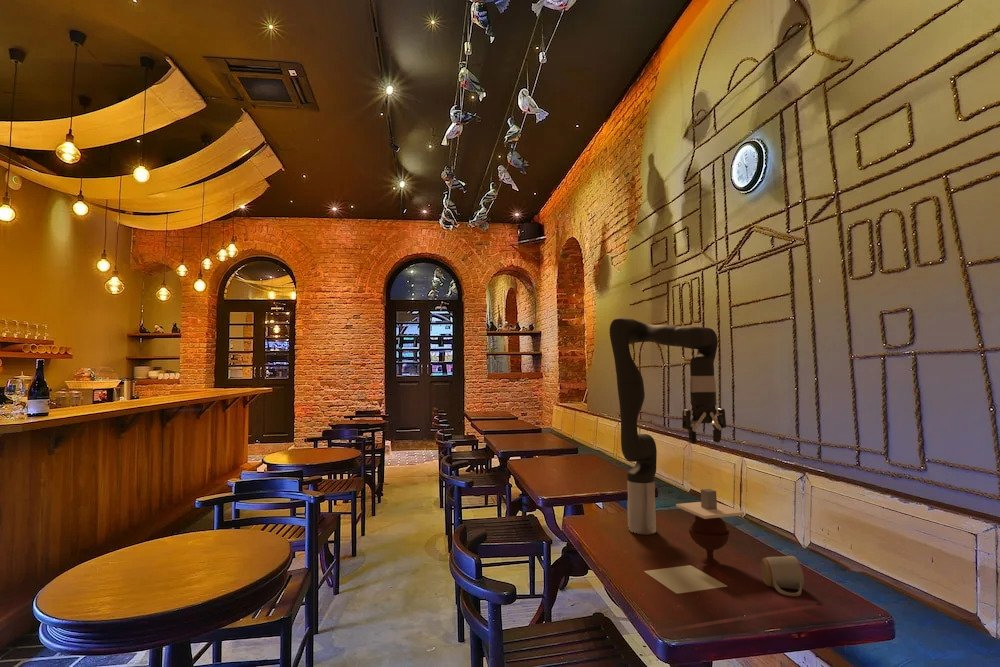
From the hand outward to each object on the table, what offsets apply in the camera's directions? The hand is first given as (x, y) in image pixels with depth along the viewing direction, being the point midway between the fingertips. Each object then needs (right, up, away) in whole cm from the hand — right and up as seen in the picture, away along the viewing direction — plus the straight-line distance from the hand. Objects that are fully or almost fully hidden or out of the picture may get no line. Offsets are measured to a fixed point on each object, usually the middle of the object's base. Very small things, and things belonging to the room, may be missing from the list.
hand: (705, 442), depth 157 cm
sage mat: (-15, -31, -24) cm, 42 cm away
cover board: (-3, -17, -11) cm, 21 cm away
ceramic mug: (+8, -31, -30) cm, 44 cm away
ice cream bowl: (-3, -33, -12) cm, 35 cm away
